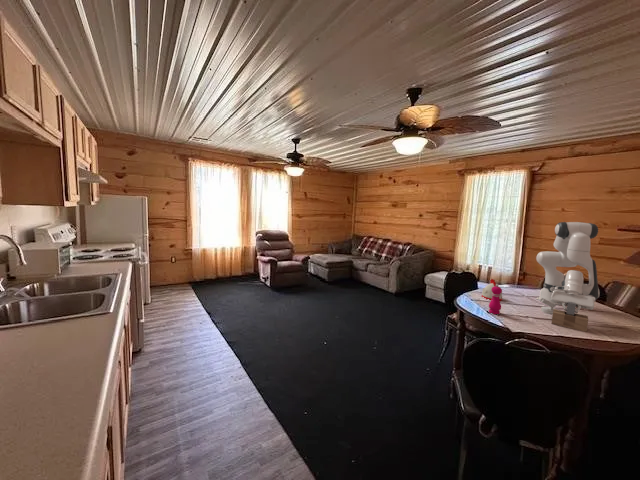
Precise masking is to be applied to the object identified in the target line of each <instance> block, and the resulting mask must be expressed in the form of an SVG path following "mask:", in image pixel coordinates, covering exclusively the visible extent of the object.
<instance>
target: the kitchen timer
mask: <svg viewBox="0 0 640 480" xmlns="http://www.w3.org/2000/svg"><path fill="white" fill-rule="evenodd" d="M496 284H497V282H496V280H495V279H493V278H490V281H489V284H487V285H486V286H485V287H483V288H482V291H481V298H482V297H484V298H486V299H485V300H487V299H489V300H488V301H491V300H492V293H493V292H492V291H491V289H492V287H494V286H496ZM500 294H501V295H500V298H499V301H500V302H502V301H503V292H502V293H500ZM484 298H483V299H484Z"/></svg>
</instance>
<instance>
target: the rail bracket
mask: <svg viewBox="0 0 640 480" xmlns="http://www.w3.org/2000/svg"><path fill="white" fill-rule="evenodd" d="M575 306H576V303H574V302H569V301H568V305H566V307H567V311H566V315H571V316H574V313H575V309H576V307H575Z"/></svg>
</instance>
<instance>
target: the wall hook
mask: <svg viewBox="0 0 640 480" xmlns="http://www.w3.org/2000/svg"><path fill="white" fill-rule="evenodd" d="M539 301H540V303H542V304H544V305H545V306H541V307H540V311H541V312H542V313H545V314H549V315H553V309H556V310H558V309H557V308H556V304H554V303H552V302H550V301H548V300H546V299H544V298H542V299H541V300H539ZM546 305H547V306H546Z"/></svg>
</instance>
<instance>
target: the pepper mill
mask: <svg viewBox="0 0 640 480" xmlns="http://www.w3.org/2000/svg"><path fill="white" fill-rule="evenodd" d="M495 284H496V286H494V287H492V289H491V291H492V292H493V293H492V300H490V301H489V304H488V308H489V309H488V313H489V312H490V313H489V314H491V313H493V314H492V315H495V314H499V315H500V314H501V309H502V304H501V301H499V298H500V295H501V294H500V293H502V294H503V289H502V287H500V286H499V284H497V283H495Z"/></svg>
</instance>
